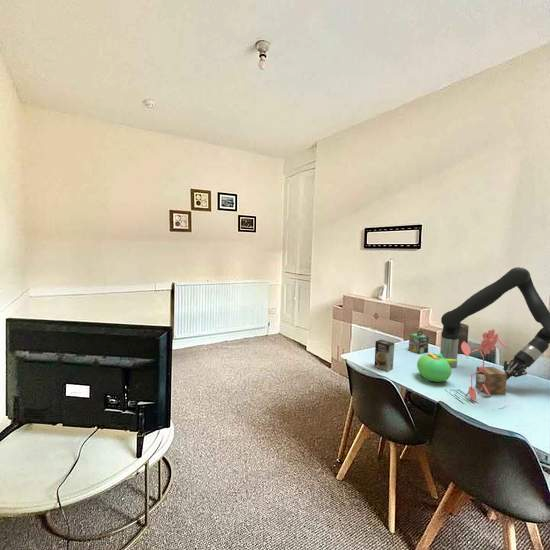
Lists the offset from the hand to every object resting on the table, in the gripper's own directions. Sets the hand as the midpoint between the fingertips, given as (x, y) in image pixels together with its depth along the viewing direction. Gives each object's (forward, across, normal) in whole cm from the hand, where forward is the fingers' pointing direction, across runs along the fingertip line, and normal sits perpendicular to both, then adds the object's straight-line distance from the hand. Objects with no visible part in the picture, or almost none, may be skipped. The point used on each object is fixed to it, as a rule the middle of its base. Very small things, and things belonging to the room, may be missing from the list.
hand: (502, 379), depth 160 cm
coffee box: (+39, -29, -32) cm, 58 cm away
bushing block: (+8, 0, 0) cm, 9 cm away
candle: (-6, -56, +14) cm, 58 cm away
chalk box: (+14, -58, -6) cm, 61 cm away
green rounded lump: (+24, -13, -16) cm, 32 cm away
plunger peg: (+6, 0, -3) cm, 7 cm away
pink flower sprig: (+16, +11, -8) cm, 21 cm away
